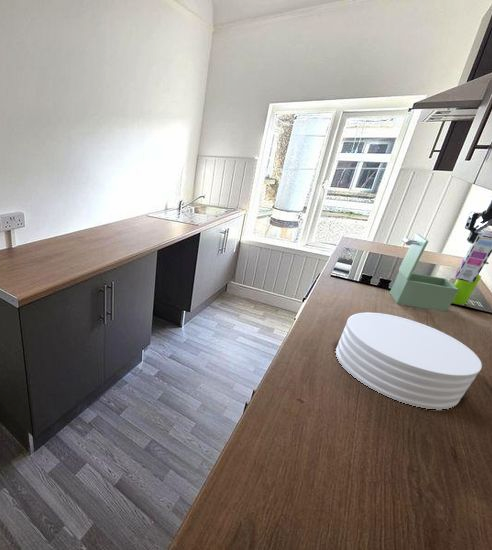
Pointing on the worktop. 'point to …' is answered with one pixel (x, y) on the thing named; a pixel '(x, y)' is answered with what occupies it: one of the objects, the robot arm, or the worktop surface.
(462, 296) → the soap dispenser
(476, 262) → the candy bar box
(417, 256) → the lid
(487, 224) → the robot arm
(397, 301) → the chest
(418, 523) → the worktop surface
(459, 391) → the plate stack
